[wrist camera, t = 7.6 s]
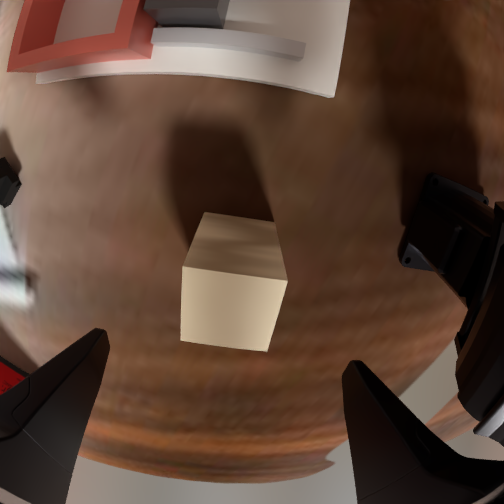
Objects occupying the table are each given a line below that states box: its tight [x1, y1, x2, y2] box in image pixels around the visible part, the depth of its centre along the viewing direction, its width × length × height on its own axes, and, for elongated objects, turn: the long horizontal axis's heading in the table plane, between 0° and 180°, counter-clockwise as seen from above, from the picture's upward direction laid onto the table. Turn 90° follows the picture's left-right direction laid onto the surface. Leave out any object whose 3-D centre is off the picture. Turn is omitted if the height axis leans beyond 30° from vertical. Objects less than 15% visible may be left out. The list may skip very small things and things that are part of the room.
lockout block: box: [181, 212, 288, 351], centre depth 14 cm, size 4×4×6 cm
